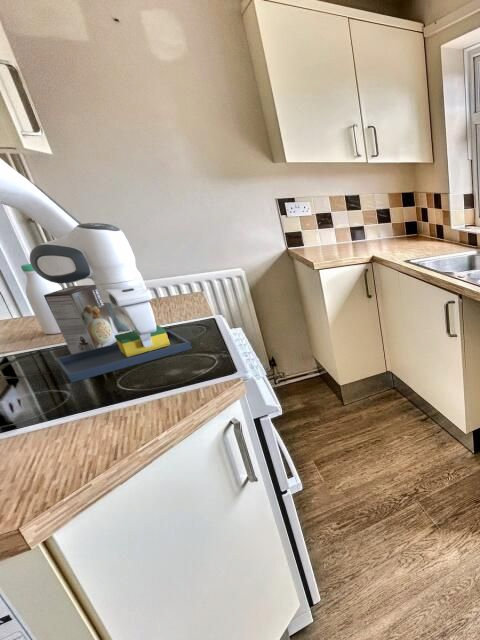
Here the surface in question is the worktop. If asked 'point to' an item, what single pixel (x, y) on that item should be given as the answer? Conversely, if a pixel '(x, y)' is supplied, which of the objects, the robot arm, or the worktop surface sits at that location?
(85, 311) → the coffee box
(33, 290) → the milk bottle
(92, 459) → the worktop surface
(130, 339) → the sponge
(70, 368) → the tray
